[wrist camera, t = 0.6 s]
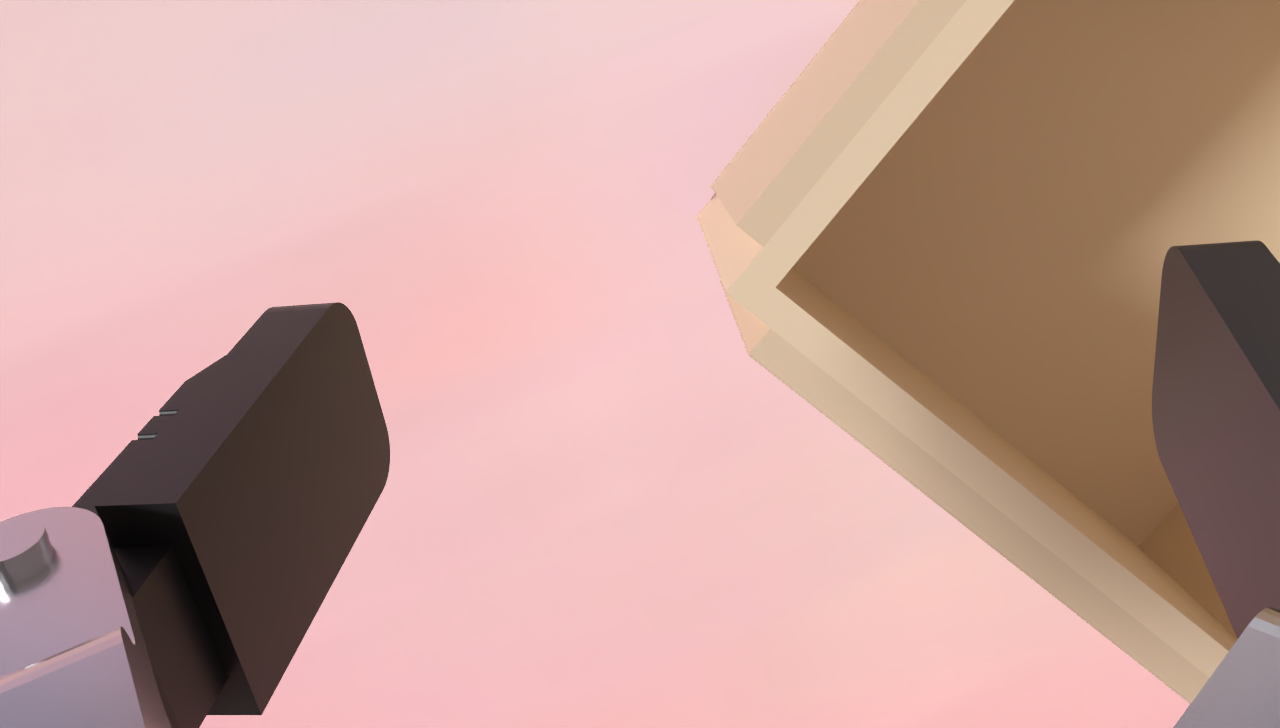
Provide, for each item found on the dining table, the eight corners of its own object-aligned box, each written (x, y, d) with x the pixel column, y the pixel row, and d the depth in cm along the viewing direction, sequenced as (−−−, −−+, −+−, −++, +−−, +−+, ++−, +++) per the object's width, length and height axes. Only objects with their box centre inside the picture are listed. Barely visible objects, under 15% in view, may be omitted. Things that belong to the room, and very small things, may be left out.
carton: (1127, 590, 34) (1376, 850, 23) (665, 220, 32) (676, 298, 20) (1566, 133, 31) (2115, 162, 20) (1091, -313, 29) (1393, -583, 17)
